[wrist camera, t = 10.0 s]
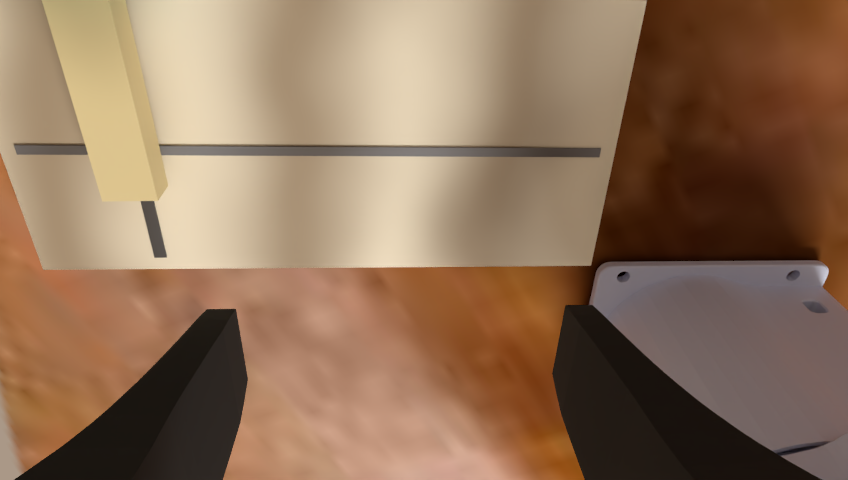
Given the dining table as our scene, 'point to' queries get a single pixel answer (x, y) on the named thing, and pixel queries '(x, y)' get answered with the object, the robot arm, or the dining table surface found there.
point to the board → (334, 133)
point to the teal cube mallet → (109, 96)
